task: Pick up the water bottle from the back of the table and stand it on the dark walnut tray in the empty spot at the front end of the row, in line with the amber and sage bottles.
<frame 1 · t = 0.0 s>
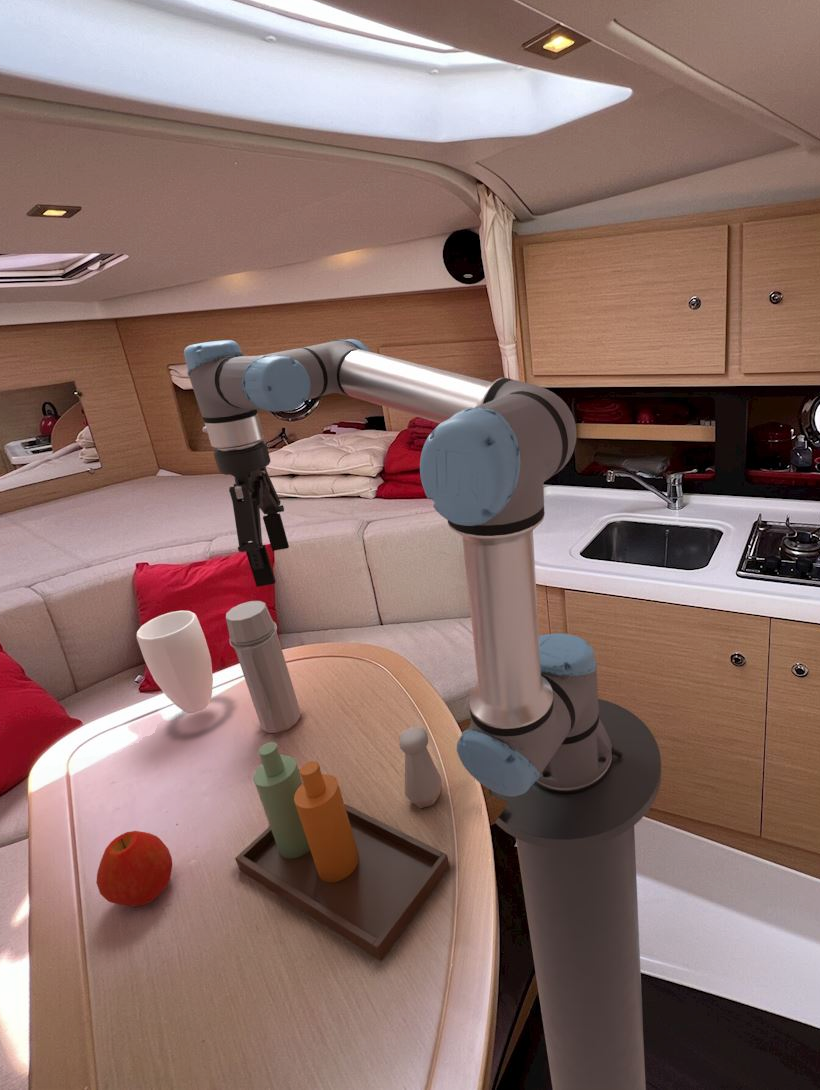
hand: (274, 565, 101), 34 cm above the table, tool pointing down, fingers open, 13 cm apart
tray: (343, 869, 85), on the table
sage bottle: (299, 841, 89), resting on tray
water bottle: (281, 726, 114), on the table
cup: (202, 718, 118), on the table
salt shaker: (426, 798, 96), on the table
apple: (147, 893, 85), on the table
amber bottle: (338, 863, 85), resting on tray
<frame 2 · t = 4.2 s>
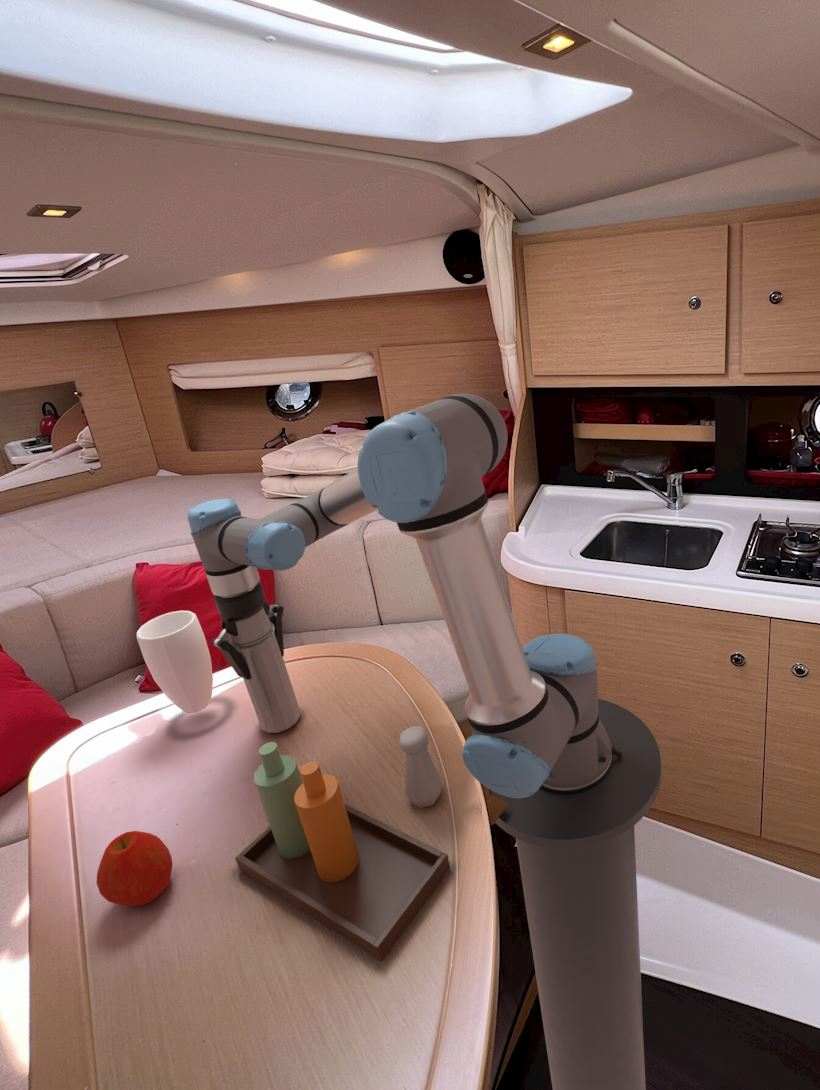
hand: (272, 698, 112), 6 cm above the table, tool pointing down, fingers closed
water bottle: (281, 726, 114), on the table, touching hand
everything else where it was.
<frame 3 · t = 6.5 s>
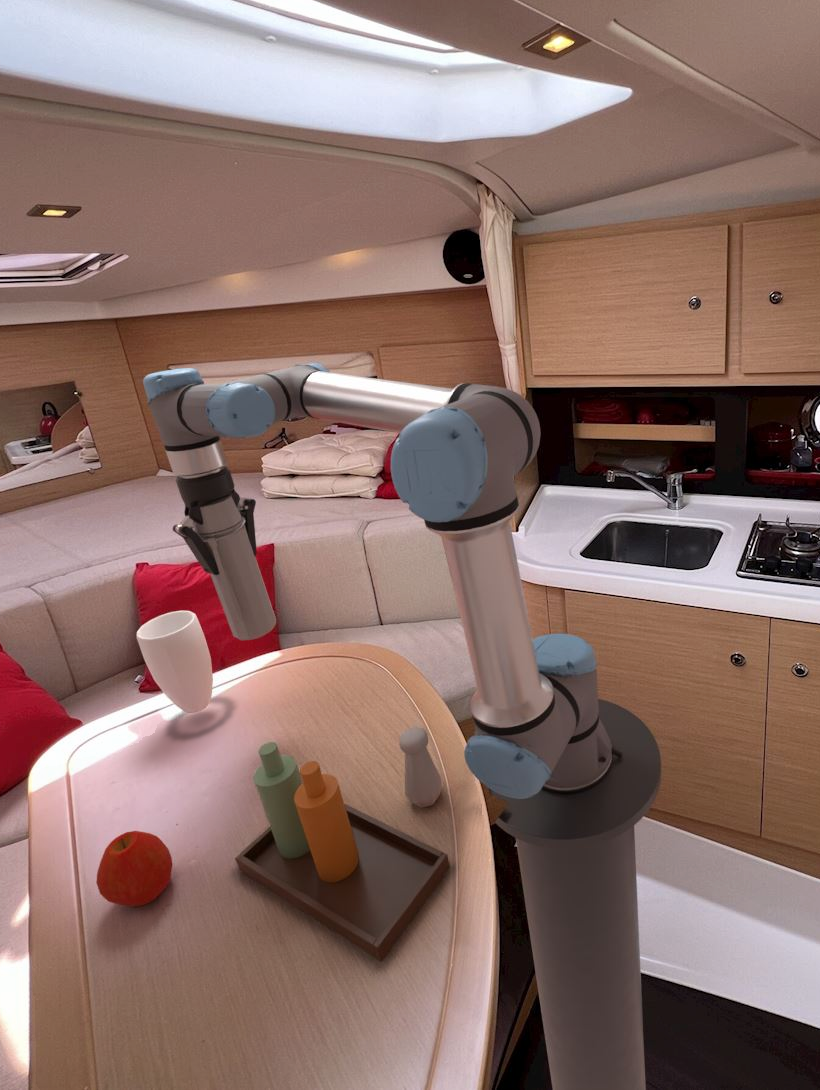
hand: (244, 601, 102), 28 cm above the table, tool pointing down, fingers closed
water bottle: (255, 634, 105), point 21 cm above the table, touching hand
everything else where it was.
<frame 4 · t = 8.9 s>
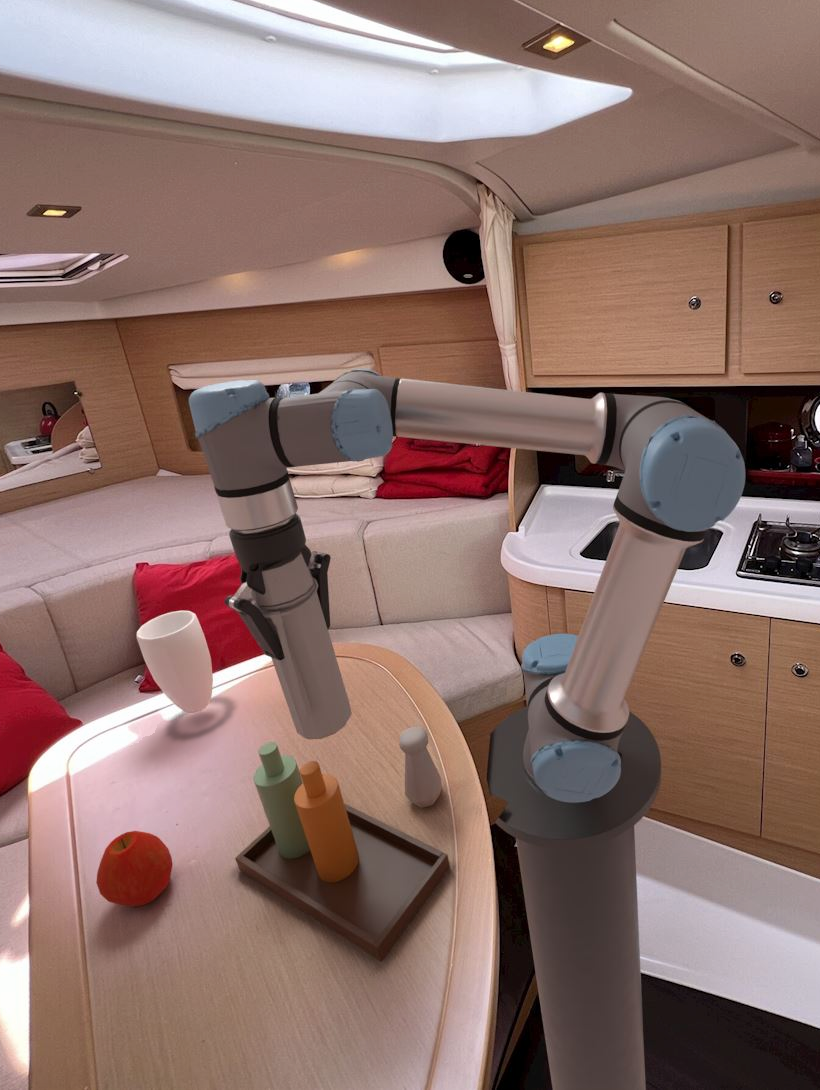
hand: (313, 688, 77), 29 cm above the table, tool pointing down, fingers closed
water bottle: (324, 729, 79), point 23 cm above the table, touching hand
everything else where it was.
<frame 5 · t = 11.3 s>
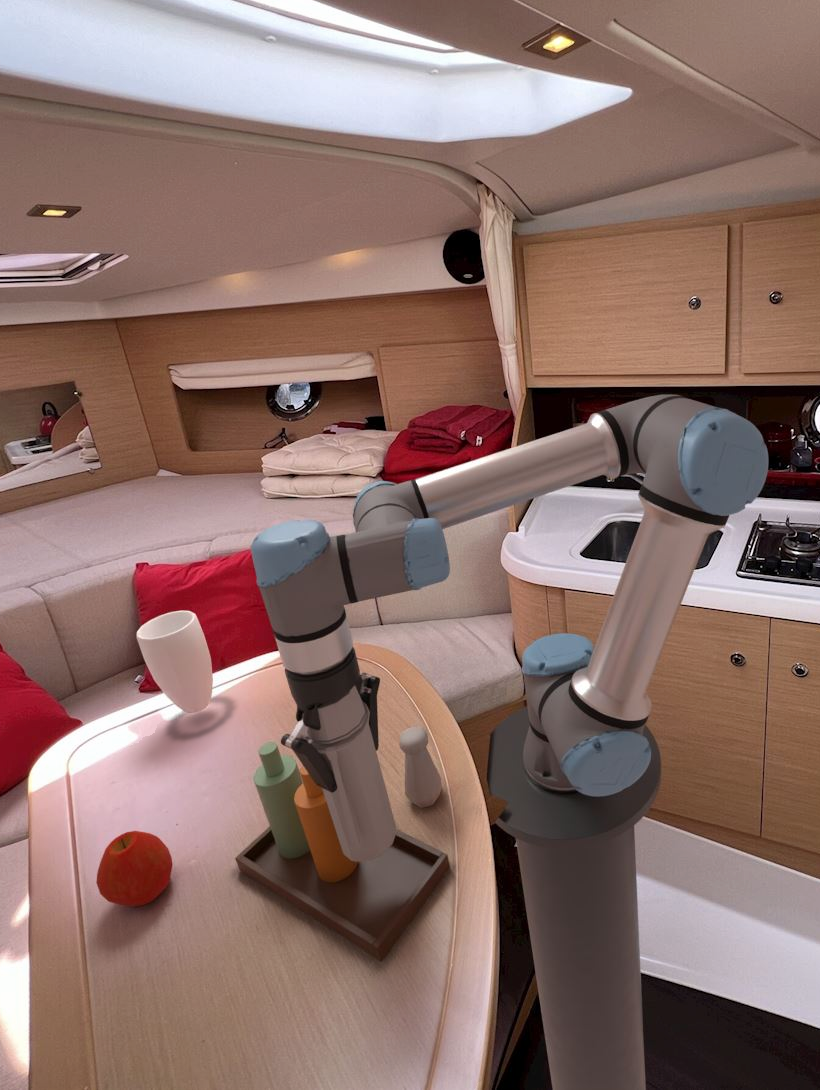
hand: (361, 810, 76), 15 cm above the table, tool pointing down, fingers closed
water bottle: (370, 848, 78), point 9 cm above the table, touching hand
everything else where it was.
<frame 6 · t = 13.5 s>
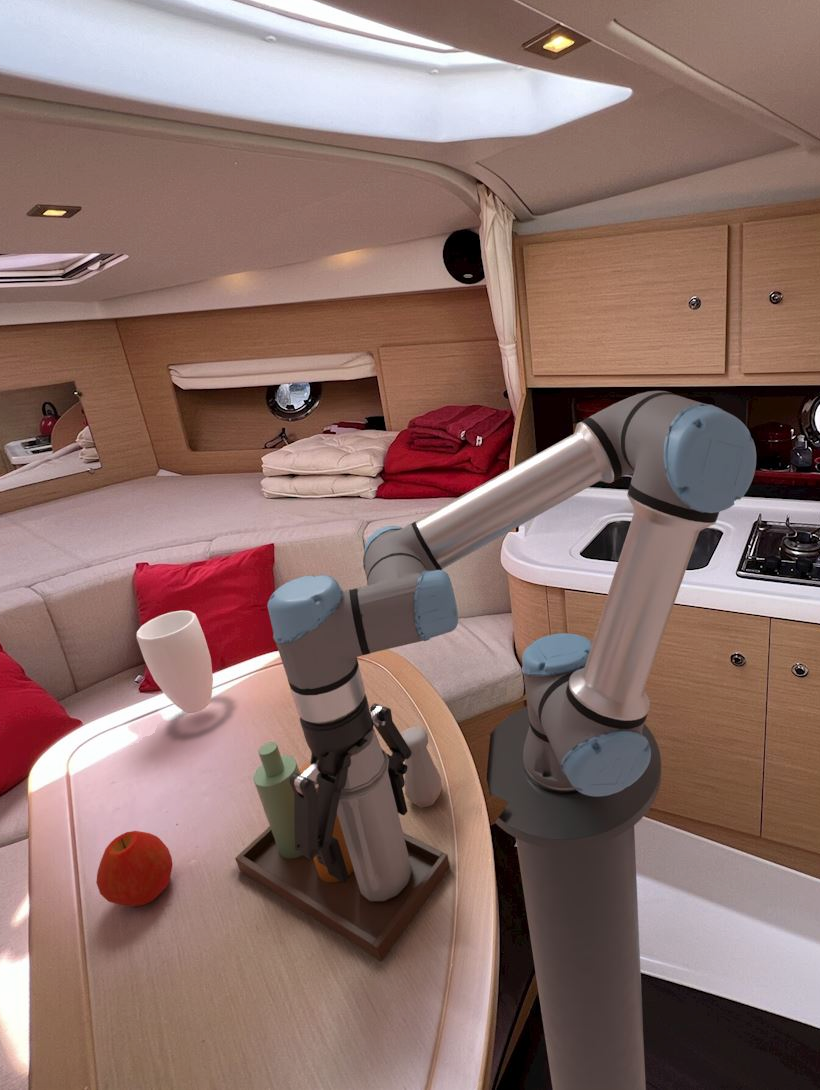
hand: (370, 841, 78), 10 cm above the table, tool pointing down, fingers open, 10 cm apart
water bottle: (386, 887, 82), resting on tray
everything else where it was.
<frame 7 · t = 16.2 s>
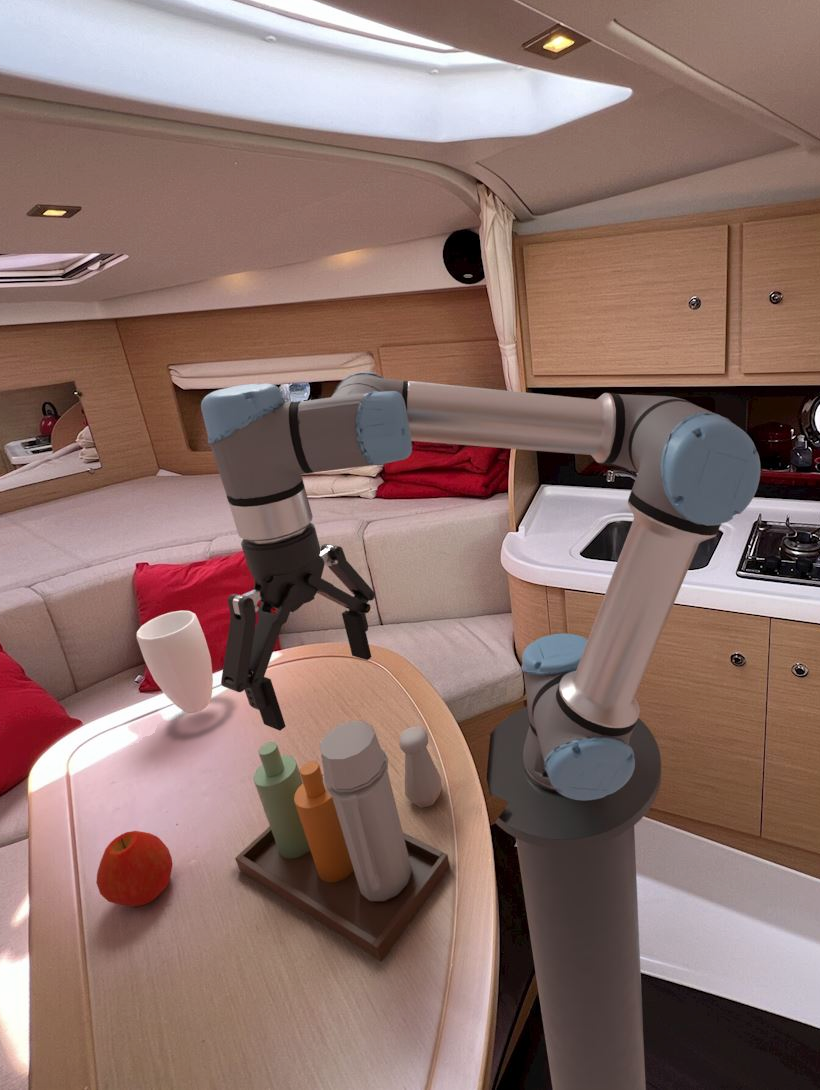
hand: (321, 688, 73), 31 cm above the table, tool pointing down, fingers open, 13 cm apart
nothing on the table moved.
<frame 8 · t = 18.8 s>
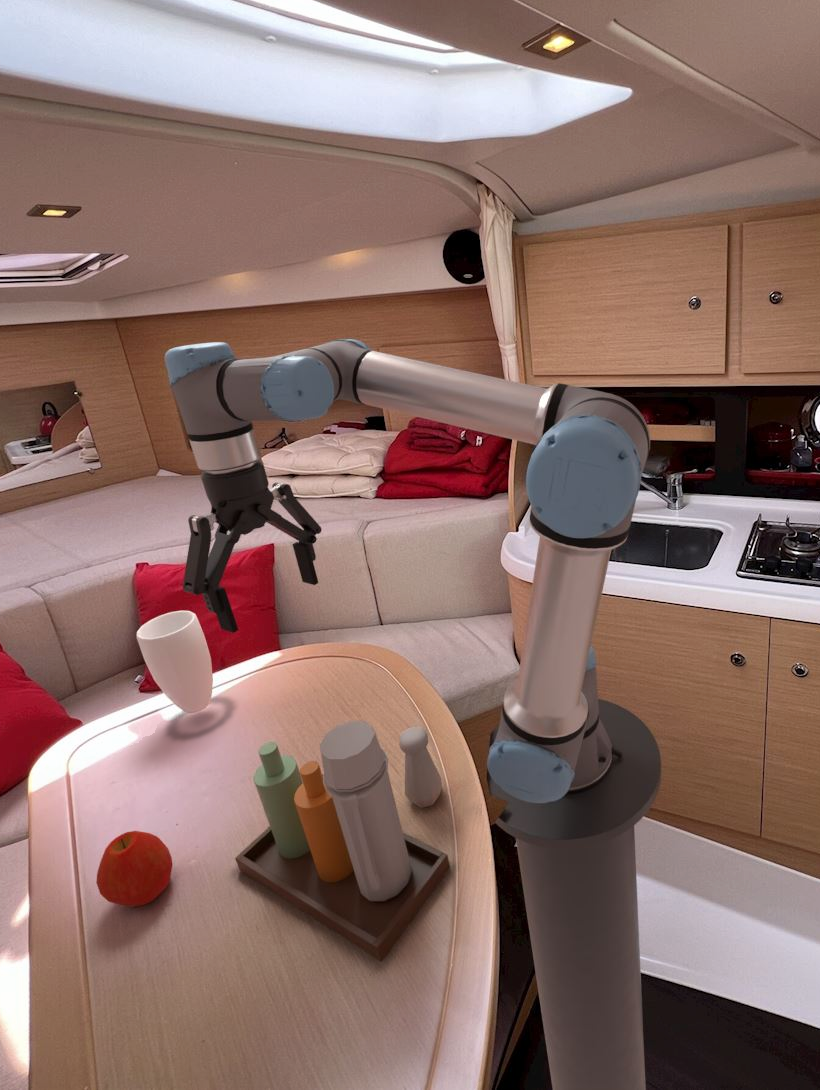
hand: (272, 604, 87), 35 cm above the table, tool pointing down, fingers open, 13 cm apart
nothing on the table moved.
at the end: water bottle 0.4 cm from the target spot in the tray, point 0.4 cm above the tray's base; water bottle tilted 0°; the gripper is holding nothing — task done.
